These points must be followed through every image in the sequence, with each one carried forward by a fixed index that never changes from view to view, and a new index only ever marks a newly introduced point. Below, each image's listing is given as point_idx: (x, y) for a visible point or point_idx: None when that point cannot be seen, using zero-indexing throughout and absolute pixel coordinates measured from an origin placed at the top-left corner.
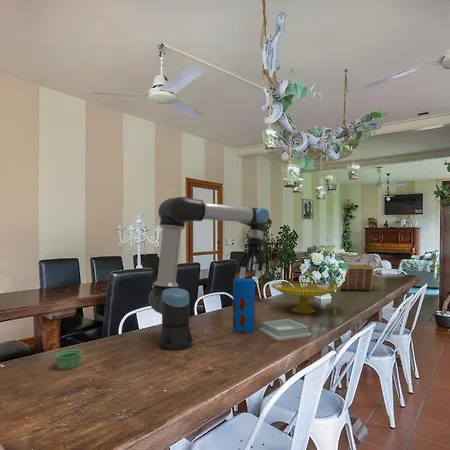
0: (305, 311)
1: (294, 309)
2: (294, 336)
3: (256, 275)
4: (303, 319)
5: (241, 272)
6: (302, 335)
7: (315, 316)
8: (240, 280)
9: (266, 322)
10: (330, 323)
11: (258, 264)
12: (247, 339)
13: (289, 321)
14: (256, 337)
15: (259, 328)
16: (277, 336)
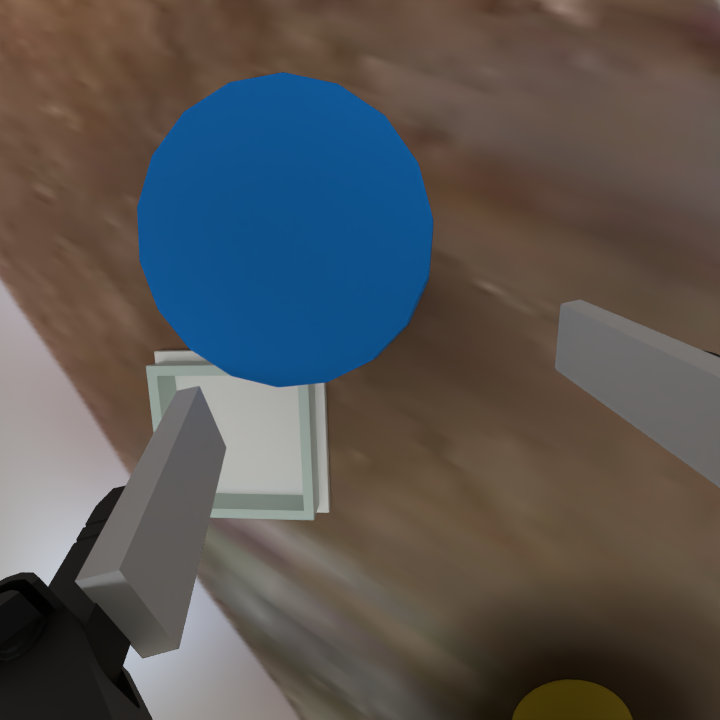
0: (527, 715)
1: (590, 696)
2: None
3: (174, 409)
4: (416, 626)
5: (636, 351)
6: None
7: (442, 702)
8: (214, 154)
9: (298, 385)
10: (315, 681)
11: (90, 589)
12: None
13: (300, 506)
14: None
15: None
16: (175, 360)
